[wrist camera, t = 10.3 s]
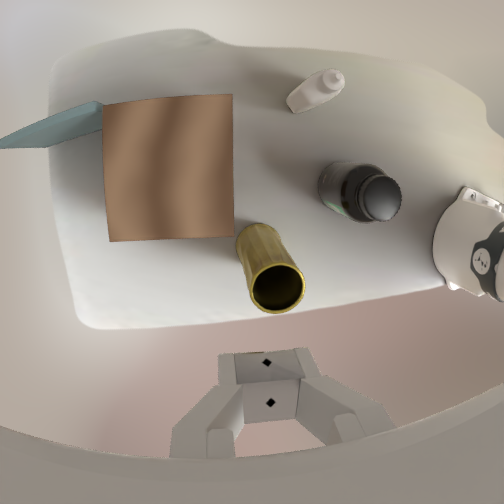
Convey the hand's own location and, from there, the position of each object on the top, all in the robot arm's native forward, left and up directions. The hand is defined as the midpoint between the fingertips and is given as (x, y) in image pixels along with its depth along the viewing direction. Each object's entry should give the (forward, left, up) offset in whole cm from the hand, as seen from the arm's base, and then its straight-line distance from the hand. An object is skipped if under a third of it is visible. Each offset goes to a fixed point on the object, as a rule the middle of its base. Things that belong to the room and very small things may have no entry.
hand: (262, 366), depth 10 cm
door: (+19, -12, -31) cm, 38 cm away
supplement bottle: (-15, -3, -31) cm, 35 cm away
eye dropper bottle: (-10, -15, -31) cm, 36 cm away
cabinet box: (+6, -6, -31) cm, 32 cm away
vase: (-4, +5, -31) cm, 32 cm away
